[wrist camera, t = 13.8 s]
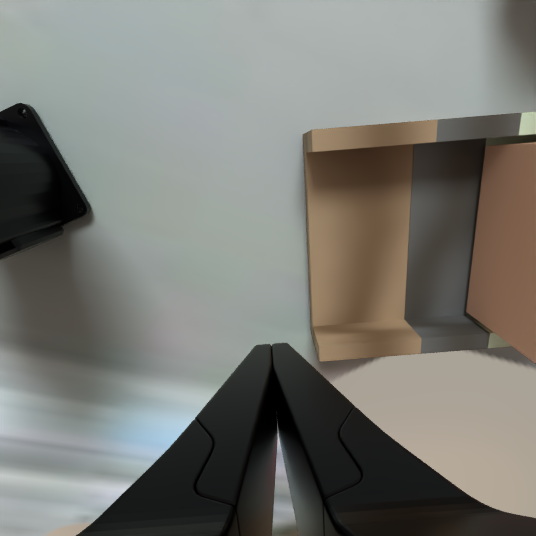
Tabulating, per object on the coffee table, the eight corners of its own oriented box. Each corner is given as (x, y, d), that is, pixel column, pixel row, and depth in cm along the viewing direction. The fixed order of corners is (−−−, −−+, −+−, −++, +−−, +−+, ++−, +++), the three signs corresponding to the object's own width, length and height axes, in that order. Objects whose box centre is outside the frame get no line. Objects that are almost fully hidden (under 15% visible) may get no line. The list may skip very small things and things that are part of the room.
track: (311, 332, 23) (319, 361, 20) (302, 134, 19) (311, 129, 16) (585, 310, 23) (639, 336, 20) (634, 107, 19) (711, 97, 16)
